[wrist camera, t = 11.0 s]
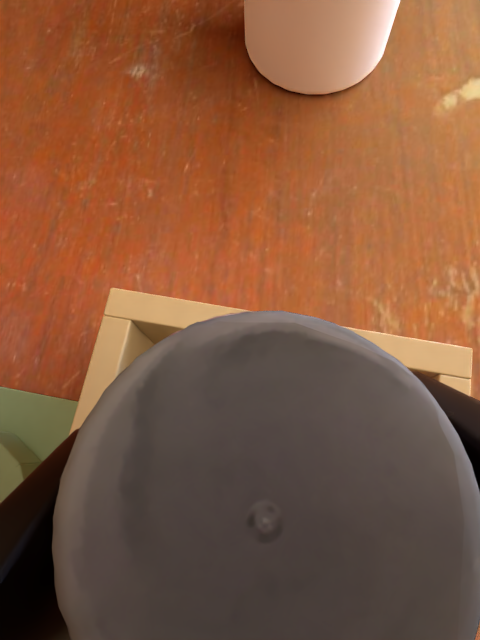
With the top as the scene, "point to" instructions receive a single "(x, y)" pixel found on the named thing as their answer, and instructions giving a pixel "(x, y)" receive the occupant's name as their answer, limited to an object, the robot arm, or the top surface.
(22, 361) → the top surface
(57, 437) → the control block
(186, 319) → the shallow tan tray box
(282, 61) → the mug
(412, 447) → the supplement bottle
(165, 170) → the top surface
